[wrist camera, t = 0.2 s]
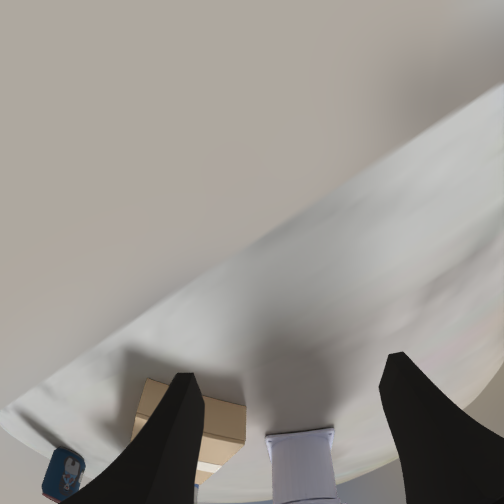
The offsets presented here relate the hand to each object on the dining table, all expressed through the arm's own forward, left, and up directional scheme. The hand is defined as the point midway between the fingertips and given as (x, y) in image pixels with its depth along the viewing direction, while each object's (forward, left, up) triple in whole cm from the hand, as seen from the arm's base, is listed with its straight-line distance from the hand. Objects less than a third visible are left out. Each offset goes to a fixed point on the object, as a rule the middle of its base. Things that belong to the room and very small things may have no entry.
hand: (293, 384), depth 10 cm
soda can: (-39, +42, -10) cm, 58 cm away
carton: (-21, +13, -10) cm, 26 cm away
